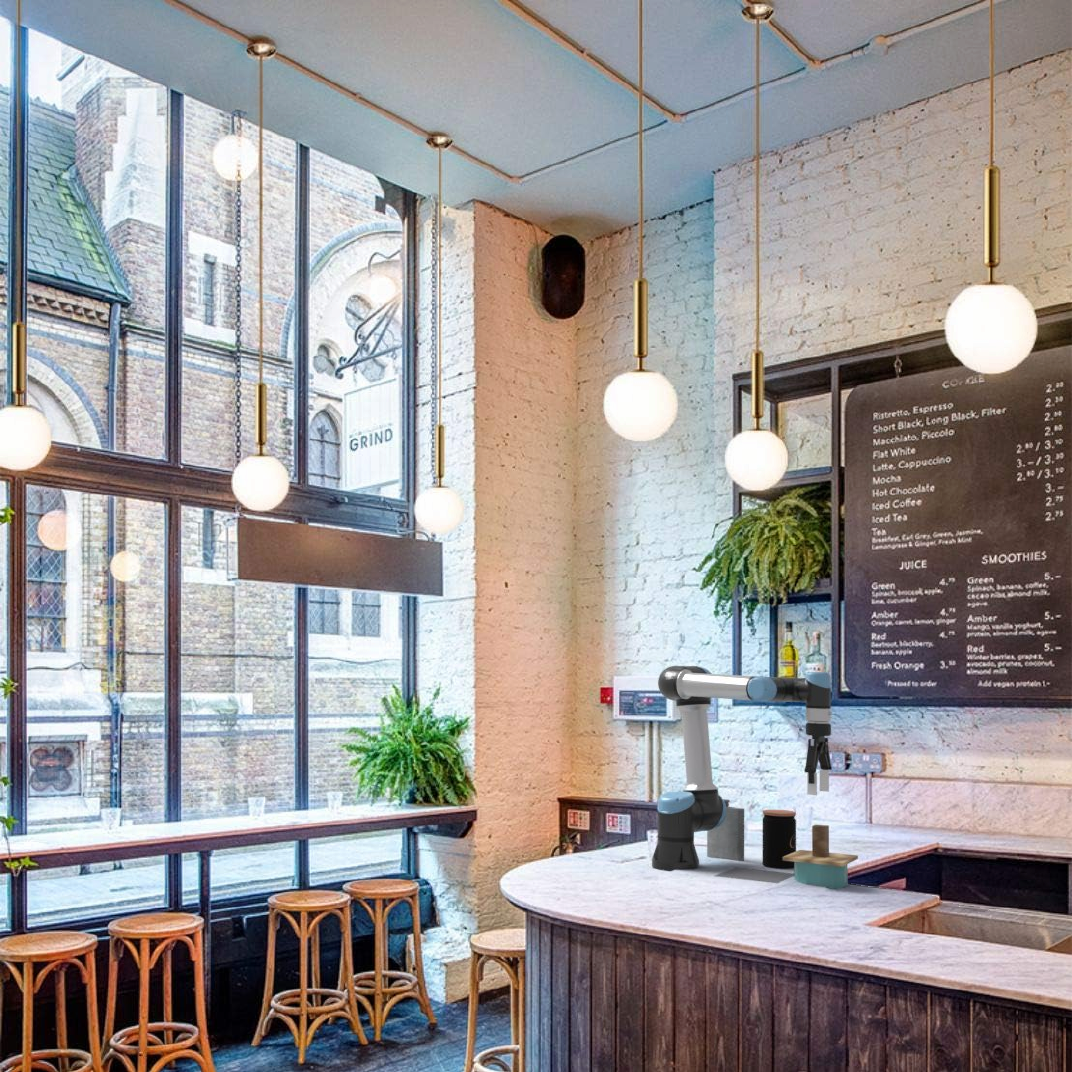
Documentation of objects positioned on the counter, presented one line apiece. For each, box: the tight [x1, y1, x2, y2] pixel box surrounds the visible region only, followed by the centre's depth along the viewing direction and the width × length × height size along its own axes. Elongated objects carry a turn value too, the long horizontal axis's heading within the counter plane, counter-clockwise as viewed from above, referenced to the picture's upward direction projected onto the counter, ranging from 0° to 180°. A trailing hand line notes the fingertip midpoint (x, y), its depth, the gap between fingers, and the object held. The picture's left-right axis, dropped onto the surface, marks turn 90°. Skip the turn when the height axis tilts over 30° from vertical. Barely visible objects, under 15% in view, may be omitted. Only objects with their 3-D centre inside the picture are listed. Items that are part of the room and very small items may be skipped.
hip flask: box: [706, 798, 745, 862], centre depth 391 cm, size 16×4×20 cm, turn 37°
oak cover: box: [783, 824, 859, 866], centre depth 349 cm, size 18×18×10 cm
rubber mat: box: [714, 866, 795, 884], centre depth 357 cm, size 20×20×1 cm
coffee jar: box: [762, 809, 797, 870], centre depth 376 cm, size 11×11×18 cm
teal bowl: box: [793, 862, 849, 889], centre depth 348 cm, size 15×15×7 cm
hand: (818, 793), depth 352 cm, fingers open, 13 cm apart
